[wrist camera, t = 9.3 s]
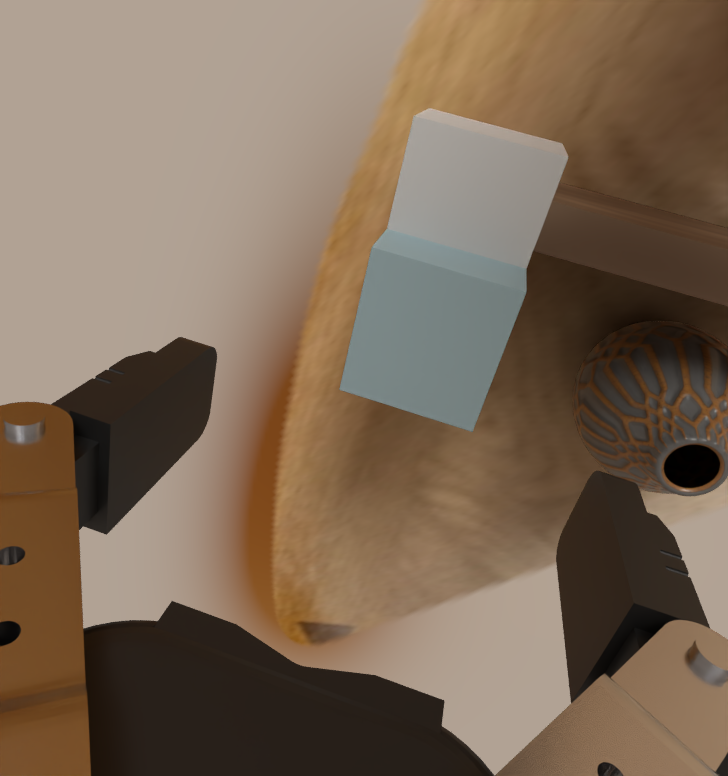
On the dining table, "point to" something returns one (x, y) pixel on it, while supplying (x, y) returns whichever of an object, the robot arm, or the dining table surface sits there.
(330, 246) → the dining table surface
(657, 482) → the vase
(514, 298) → the cabinet
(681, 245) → the wall board
